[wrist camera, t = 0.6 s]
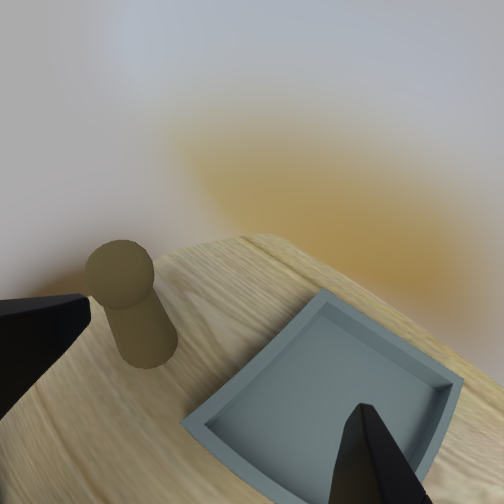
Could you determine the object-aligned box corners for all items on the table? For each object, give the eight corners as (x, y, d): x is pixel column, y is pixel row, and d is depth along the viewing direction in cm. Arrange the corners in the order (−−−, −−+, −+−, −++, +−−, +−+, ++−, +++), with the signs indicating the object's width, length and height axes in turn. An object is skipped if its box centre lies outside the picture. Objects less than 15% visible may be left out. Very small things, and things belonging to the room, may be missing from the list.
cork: (120, 316, 26) (85, 231, 18) (177, 313, 27) (158, 224, 20) (115, 368, 21) (62, 291, 14) (178, 367, 22) (151, 287, 15)
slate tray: (357, 547, 10) (373, 552, 8) (185, 430, 18) (179, 422, 16) (447, 391, 20) (464, 379, 18) (315, 306, 29) (322, 287, 27)
